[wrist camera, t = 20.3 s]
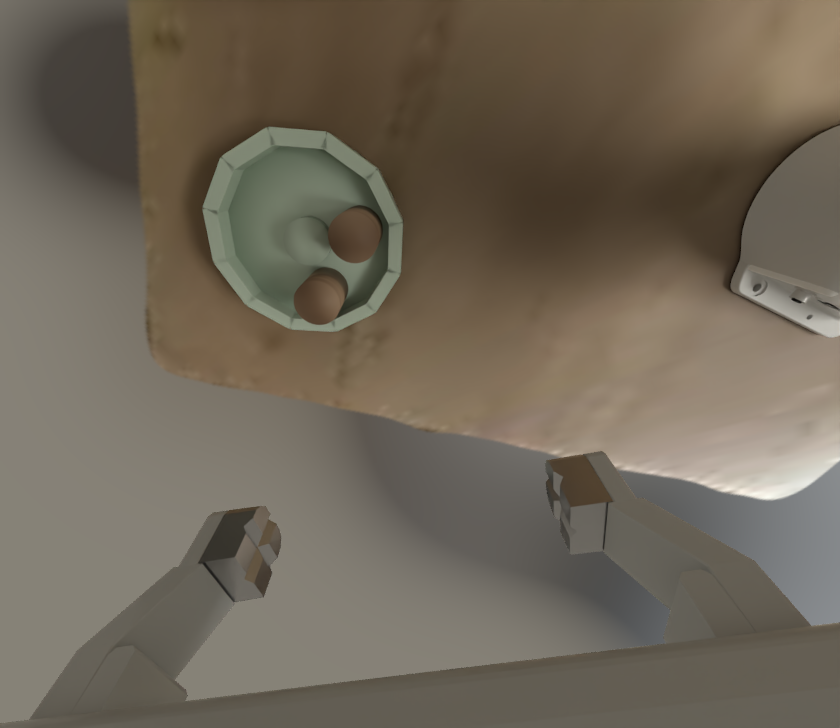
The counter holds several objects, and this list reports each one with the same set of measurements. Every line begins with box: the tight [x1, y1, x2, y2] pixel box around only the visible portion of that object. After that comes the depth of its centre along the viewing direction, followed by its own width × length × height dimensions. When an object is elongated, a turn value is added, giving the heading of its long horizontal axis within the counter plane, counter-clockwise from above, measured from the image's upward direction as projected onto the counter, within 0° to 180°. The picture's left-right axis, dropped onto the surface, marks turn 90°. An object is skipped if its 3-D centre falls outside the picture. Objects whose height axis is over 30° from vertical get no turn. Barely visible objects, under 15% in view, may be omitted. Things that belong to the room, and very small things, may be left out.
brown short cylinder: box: [294, 267, 348, 325], centre depth 34 cm, size 4×4×5 cm
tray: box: [202, 127, 403, 332], centre depth 33 cm, size 17×17×3 cm
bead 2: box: [328, 205, 383, 263], centre depth 31 cm, size 4×4×5 cm
